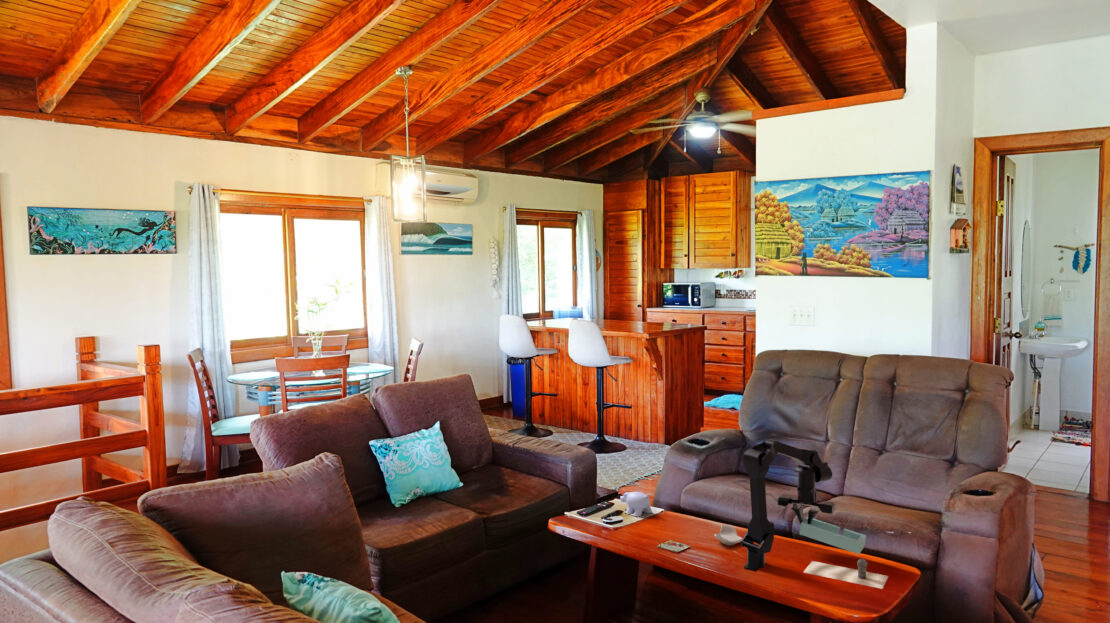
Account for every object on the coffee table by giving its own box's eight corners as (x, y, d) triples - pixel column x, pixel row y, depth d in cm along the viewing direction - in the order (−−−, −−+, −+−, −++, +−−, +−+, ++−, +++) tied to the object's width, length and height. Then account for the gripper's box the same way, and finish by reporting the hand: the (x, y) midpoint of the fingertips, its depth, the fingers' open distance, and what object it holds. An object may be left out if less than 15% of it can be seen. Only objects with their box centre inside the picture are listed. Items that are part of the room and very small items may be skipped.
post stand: (888, 579, 238) (888, 557, 238) (882, 591, 228) (882, 569, 228) (812, 563, 251) (812, 543, 251) (803, 575, 241) (803, 554, 241)
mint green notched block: (864, 546, 254) (866, 535, 253) (859, 554, 246) (861, 543, 246) (805, 527, 264) (807, 516, 264) (799, 534, 257) (801, 523, 256)
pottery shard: (720, 549, 265) (720, 535, 265) (706, 539, 276) (706, 525, 276) (746, 546, 268) (746, 532, 268) (730, 536, 279) (730, 523, 279)
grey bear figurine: (630, 505, 318) (630, 483, 317) (657, 513, 307) (658, 490, 307) (613, 510, 310) (613, 488, 310) (641, 519, 299) (641, 495, 299)
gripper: (839, 483, 261) (838, 526, 262) (786, 475, 271) (785, 517, 272) (832, 490, 252) (831, 535, 252) (777, 482, 262) (776, 525, 262)
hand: (805, 527), depth 260 cm, fingers closed on mint green notched block, 2 cm apart
